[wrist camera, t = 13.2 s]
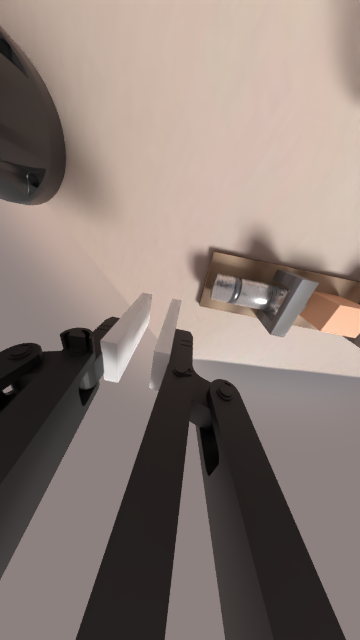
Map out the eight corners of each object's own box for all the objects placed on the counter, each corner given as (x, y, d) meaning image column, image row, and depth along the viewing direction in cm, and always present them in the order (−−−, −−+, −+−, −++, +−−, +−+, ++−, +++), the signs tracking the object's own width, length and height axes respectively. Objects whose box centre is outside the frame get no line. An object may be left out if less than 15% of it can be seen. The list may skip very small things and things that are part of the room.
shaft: (208, 294, 26) (211, 303, 22) (215, 270, 24) (219, 276, 20) (282, 309, 26) (296, 321, 23) (296, 286, 24) (313, 295, 21)
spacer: (295, 312, 26) (320, 331, 21) (309, 290, 24) (340, 305, 19) (323, 317, 26) (355, 338, 21) (339, 296, 24) (378, 312, 19)
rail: (199, 303, 28) (200, 323, 22) (213, 251, 24) (220, 257, 17) (335, 331, 28) (375, 358, 22) (374, 285, 24) (437, 303, 18)
